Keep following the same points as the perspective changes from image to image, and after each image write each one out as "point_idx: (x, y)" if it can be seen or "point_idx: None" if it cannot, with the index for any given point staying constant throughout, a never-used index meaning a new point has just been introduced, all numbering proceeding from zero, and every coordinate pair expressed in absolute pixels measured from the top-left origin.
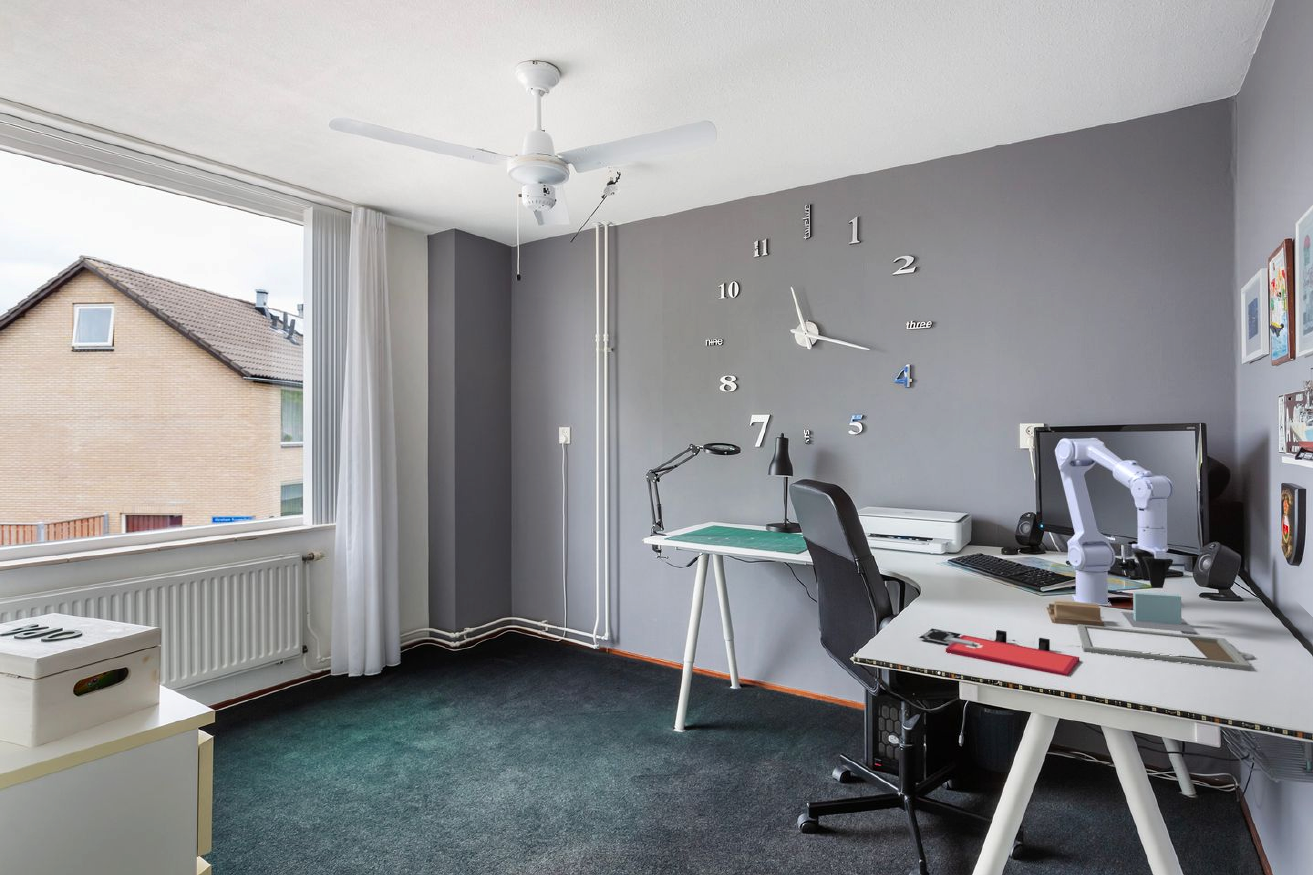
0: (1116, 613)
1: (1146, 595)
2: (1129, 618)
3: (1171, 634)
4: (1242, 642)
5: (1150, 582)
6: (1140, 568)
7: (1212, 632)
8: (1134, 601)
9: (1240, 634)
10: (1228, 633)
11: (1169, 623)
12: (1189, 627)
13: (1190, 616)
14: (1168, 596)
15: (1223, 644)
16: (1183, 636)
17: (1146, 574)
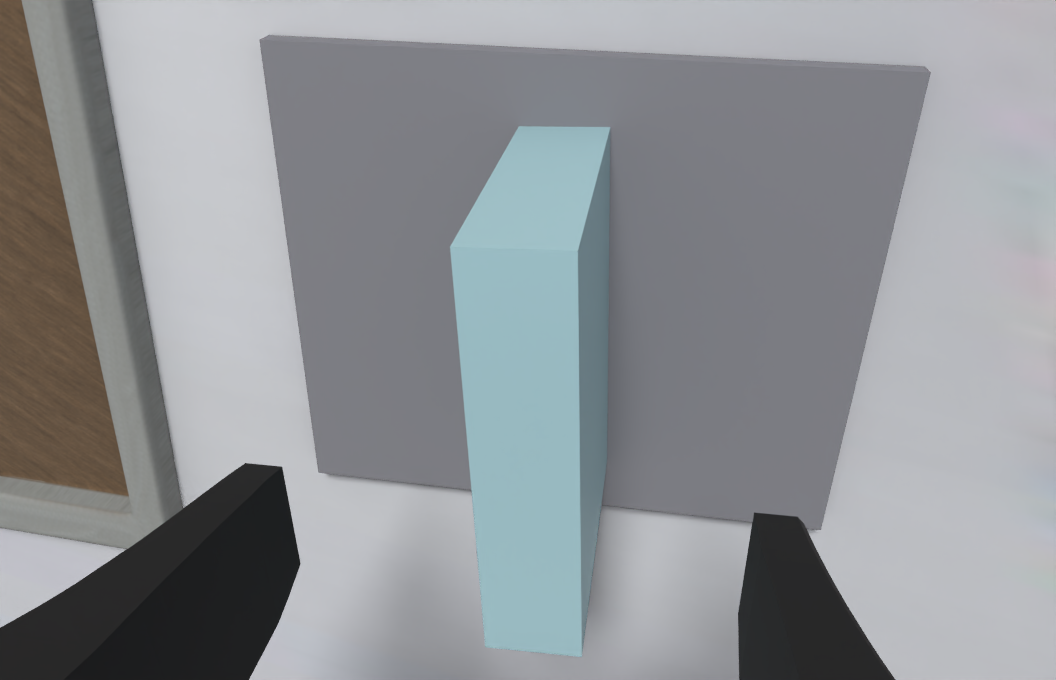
0: (942, 14)
1: (464, 360)
2: (613, 89)
3: (83, 280)
4: None
5: (211, 495)
6: (838, 647)
7: (435, 564)
8: (529, 200)
9: (452, 677)
10: (449, 633)
11: None
12: (450, 474)
13: (916, 604)
14: (481, 553)
15: (4, 499)
16: (102, 347)
17: (758, 620)
